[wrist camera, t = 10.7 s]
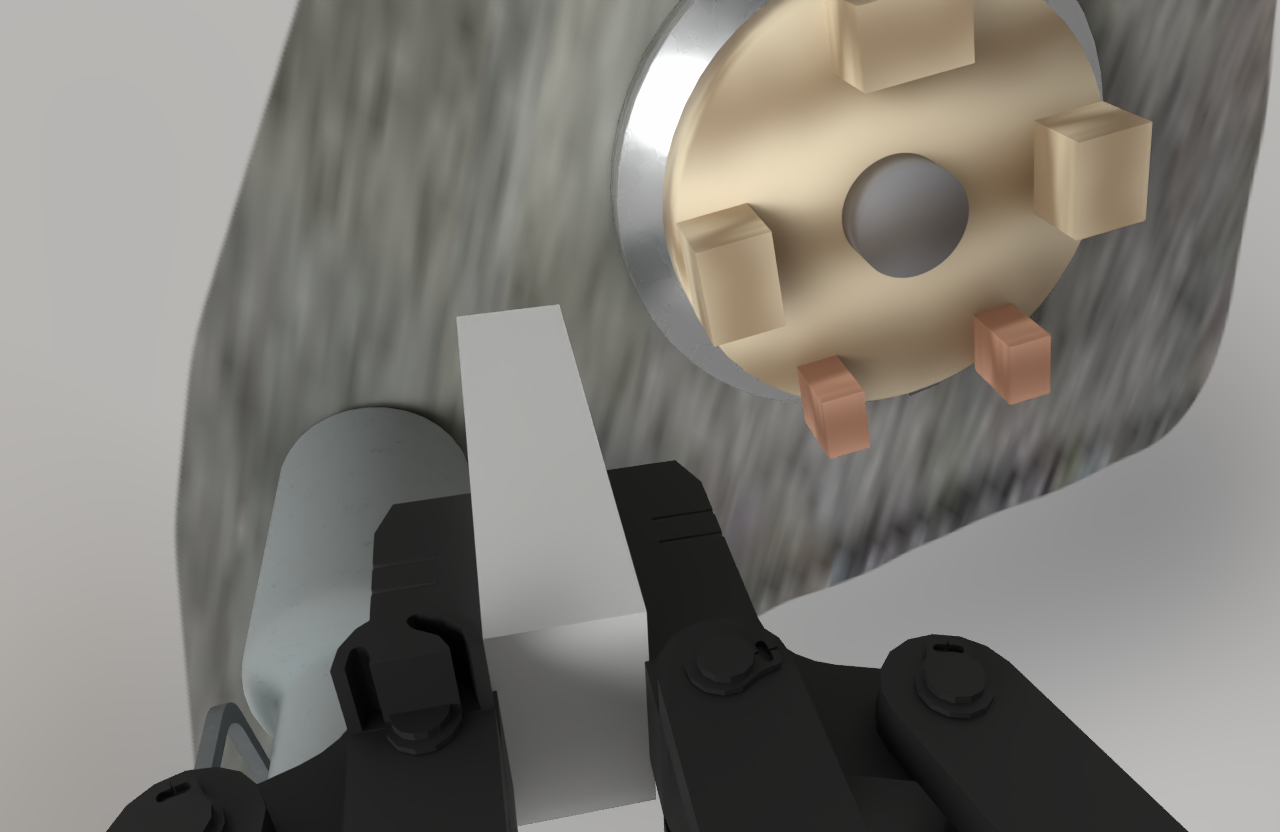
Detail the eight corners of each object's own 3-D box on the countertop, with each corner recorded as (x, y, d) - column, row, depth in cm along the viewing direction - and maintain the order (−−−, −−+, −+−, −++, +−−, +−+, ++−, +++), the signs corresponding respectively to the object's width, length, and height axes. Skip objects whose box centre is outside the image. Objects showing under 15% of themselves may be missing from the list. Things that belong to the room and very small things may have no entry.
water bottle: (311, 572, 54) (233, 1145, 31) (243, 428, 49) (87, 987, 26) (491, 526, 55) (548, 1051, 32) (443, 379, 50) (469, 878, 26)
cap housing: (604, -98, 40) (619, -91, 37) (1132, -108, 44) (1184, -103, 41) (614, 406, 53) (626, 441, 50) (1026, 364, 57) (1059, 393, 54)
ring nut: (618, 25, 41) (650, 57, 35) (1073, -100, 42) (1172, -88, 36) (704, 418, 51) (739, 490, 46) (1063, 312, 52) (1138, 369, 47)
